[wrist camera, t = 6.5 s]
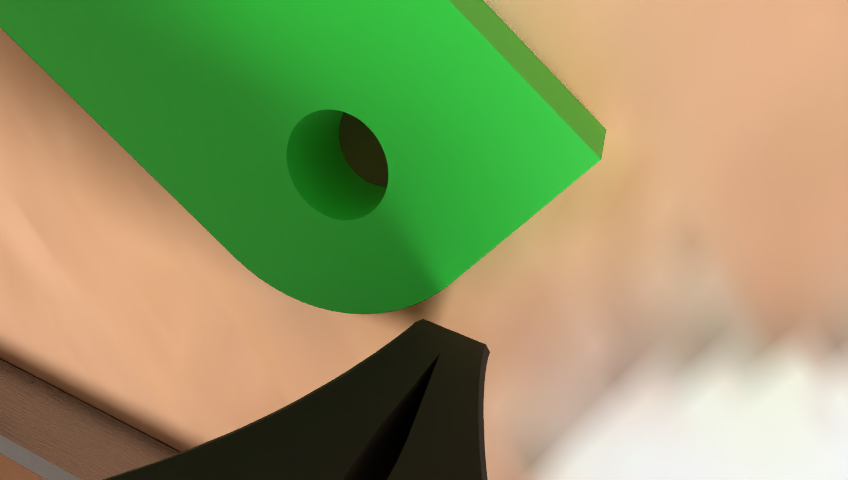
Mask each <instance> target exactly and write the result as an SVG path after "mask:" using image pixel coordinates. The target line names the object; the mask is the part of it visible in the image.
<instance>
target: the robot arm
mask: <svg viewBox="0 0 848 480" xmlns="http://www.w3.org/2000/svg"><path fill="white" fill-rule="evenodd" d="M489 353H490V351H489V350H488V348H487V346H486V344H483V343H481V342H478V341H476V340H473V339H471V338H468V337H466V336H463V335H461V334H459V333H456V332H454V331H451V330H449V329H446V328H444V327H441V326H439V325H437V324H434V323H432V322H429V321H427V320H424V319H422V320H419V321H417V322H415V323H414V324H413V325H412V326H410V327H409V328H408V329H407V330H405V331H404V332H403V333H402V334H400V335H399V336H398V337H396V338H395V339H394V340H392V341H391V342H390V343H388V344H387V345H385V346H384V347H383V348H381V349H380V350H378V351H377V352H376V353H374V354H373V355H371V356H370V357H368V358H367V359H365V360H364V361H362V362H360V363H359V364H357V365H356V366H354V367H353V368H351V369H350V370H348V371H347V372H345V373H344V374H342V375H340V376H339V377H337V378H335V379H334V380H332V381H330V382H328V383H327V384H325V385H323V386H321V387H320V388H318V389H316V390H314V391H313V392H311V393H309V394H307V395H306V396H304V397H302V398H300V399H299V400H297V401H295V402H293V403H291V404H289V405H287V406H285V407H283V408H281V409H279V410H278V411H276V412H274V413H271V414H269V415H267V416H265V417H263V418H261V419H259V420H257V421H255V422H253V423H250V424H248V425H246V426H244V427H242V428H240V429H237V430H235V431H233V432H230V433H228V434H226V435H223V436H221V437H218V438H216V439H213V440H211V441H209V442H206V443H204V444H201V445H199V446H197V447H194V448H192V449H189V450H187V451H184V452H181V453H179V454H176V455H173V456H171V457H168V458H165V459H163V460H160V461H157V462H154V463H151V464H148V465H145V466H142V467H139V468H136V469H133V470H130V471H127V472H124V473H121V474H118V475H115V476H112V477H109V478H105V479H102V480H487V471H486V460H485V445H484V419H483V400H484V381H485V372H486V365H487V360H488V356H489Z"/></svg>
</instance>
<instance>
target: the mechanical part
mask: <svg viewBox="0 0 848 480" xmlns="http://www.w3.org/2000/svg"><path fill="white" fill-rule="evenodd" d="M0 27H1V28H2V29H3V30H4V31H5V32H6V33H7V34H8V35H9V36H10V37H11V38H12V39H13V40H14V41H15V42H16V43H17V44H18V45H19V46H20V47H21V48H22V49H23V50H24V51H25V52H26V53H27V54H28V55H29V56H30V57H31V58H32V59H33V60H34V61H35V62H36V63H37V64H38V65H39V66H40V67H41V68H42V69H43V70H44V71H45V72H46V73H47V74H48V75H49V76H51V77H52V78H53V79H54V80H55V81H56V82H57V83H58V84H59V85H60V86H61V87H62V88H63V89H64V90H65V91H66V92H67V93H68V94H69V95H70V96H71V97H72V98H73V99H74V100H75V101H76V102H77V103H78V104H79V105H80V106H81V107H82V108H83V109H84V110H85V111H86V112H87V113H88V114H89V115H90V116H91V117H92V118H93V119H94V120H95V121H96V122H97V123H98V124H99V125H100V126H101V127H102V128H104V129H105V130H106V131H107V132H108V133H109V134H110V135H111V136H112V137H113V138H114V139H115V140H116V141H117V142H118V143H119V144H120V145H121V146H122V147H123V148H124V149H125V150H126V151H127V152H128V153H129V154H130V155H131V156H132V157H133V158H134V159H135V160H136V161H137V162H138V163H139V164H140V165H141V166H142V167H143V168H144V169H145V170H146V171H147V172H148V173H149V174H150V175H151V176H152V177H153V178H154V179H156V180H157V181H158V182H159V183H160V184H161V185H162V186H163V187H164V188H165V189H166V190H167V191H168V192H169V193H170V194H171V195H172V196H173V197H174V198H175V199H176V200H177V201H178V202H179V203H180V204H181V205H182V206H183V207H184V208H185V209H186V210H187V211H188V212H189V213H190V214H191V215H192V216H193V217H194V218H195V219H196V220H197V221H198V222H199V223H200V224H201V225H202V226H203V227H204V228H205V229H206V230H207V231H209V232H210V233H211V234H212V235H213V236H214V237H215V238H216V239H217V240H218V241H219V242H220V243H221V244H222V245H223V246H224V247H225V248H226V249H227V250H228V251H229V252H230V253H231V254H232V255H233V256H234V257H235V258H236V259H237V260H238V261H239V262H241V263H242V264H243V265H244V266H245V267H246V268H247V269H248V270H250V271H251V272H252V273H254V274H255V275H256V276H257V277H259V278H260V279H262V280H263V281H265V282H266V283H268V284H269V285H271V286H272V287H274V288H275V289H277V290H279V291H281V292H283V293H284V294H286V295H288V296H290V297H293V298H295V299H297V300H299V301H301V302H304V303H307V304H310V305H313V306H315V307H319V308H323V309H327V310H331V311H336V312H343V313H351V314H376V313H384V312H390V311H395V310H399V309H403V308H406V307H410V306H412V305H414V304H417V303H419V302H422V301H424V300H426V299H428V298H429V297H431V296H433V295H435V294H437V293H438V292H440V291H441V290H442V289H444V288H445V287H447V286H448V285H449V284H451V283H452V282H453V281H454V280H456V279H457V278H458V277H459V276H460V275H462V274H463V273H464V272H465V271H466V270H468V269H469V268H470V267H471V266H472V265H474V264H475V263H476V262H477V261H479V260H480V259H481V258H482V257H483V256H485V255H486V254H487V253H488V252H489V251H491V250H492V249H493V248H494V247H495V246H497V245H498V244H499V243H500V242H502V241H503V240H504V239H505V238H506V237H508V236H509V235H510V234H511V233H512V232H514V231H515V230H516V229H517V228H518V227H520V226H521V225H522V224H523V223H525V222H526V221H527V220H528V219H529V218H531V217H532V216H533V215H534V214H535V213H537V212H538V211H539V210H540V209H541V208H543V207H544V206H545V205H546V204H548V203H549V202H550V201H551V200H552V199H554V198H555V197H556V196H557V195H558V194H560V193H561V192H562V191H563V190H564V189H566V188H567V187H568V186H569V185H571V184H572V183H573V182H574V181H575V180H577V179H578V178H579V177H580V176H581V175H583V174H584V173H585V172H586V171H588V170H589V169H590V168H591V167H592V166H594V165H595V164H596V163H597V162H598V161H600V160H601V157H602V151H603V145H604V139H605V133H606V129H605V128H604V127H603V126H602V125H601V124H600V123H599V122H598V121H597V120H596V119H595V118H594V117H593V116H592V115H591V114H590V112H589V111H588V110H587V109H586V108H585V107H584V106H583V105H582V104H581V103H580V102H579V101H578V100H577V99H576V98H575V97H574V96H573V95H572V94H571V92H570V91H569V90H568V89H567V88H566V87H565V86H564V85H563V84H562V83H561V82H560V81H559V80H558V79H557V78H556V77H555V76H554V75H553V74H552V72H551V71H550V70H549V69H548V68H547V67H546V66H545V65H544V64H543V63H542V62H541V61H540V60H539V59H538V58H537V57H536V56H535V55H534V53H533V52H532V51H531V50H530V49H529V48H528V47H527V46H526V45H525V44H524V43H523V42H522V41H521V40H520V39H519V38H518V37H517V36H516V35H515V33H514V32H513V31H512V30H511V29H510V28H509V27H508V26H507V25H506V24H505V23H504V22H503V21H502V20H501V19H500V18H499V17H498V16H497V15H496V13H495V12H494V11H493V10H492V9H491V8H490V7H489V6H488V5H487V4H486V3H485V2H484V1H483V0H0ZM344 112H345V113H348V114H350V115H352V116H354V117H356V118H357V119H359V120H360V121H361V122H363V123H364V124H365V125H366V126H367V127H368V128H369V129H370V130H371V131H372V132H373V134H374V135H375V136H376V138H377V139H378V141H379V142H380V144H381V146H382V148H383V151H384V153H385V157H386V160H387V165H388V184H387V187H384V186H378V185H375V184H372V183H370V182H368V181H366V180H364V179H363V178H361V177H360V176H359V175H358V174H357V173H356V172H355V171H354V170H353V169H352V168H351V167H350V165H349V164H348V162H347V161H346V159H345V157H344V155H343V152H342V149H341V145H340V140H339V128H340V122H341V118H342V116H343V114H344Z"/></svg>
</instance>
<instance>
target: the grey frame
mask: <svg viewBox="0 0 848 480" xmlns="http://www.w3.org/2000/svg"><path fill="white" fill-rule="evenodd" d="M0 453H1V454H2V455H4V456H6V457H8V458H9V459H11V460H13V461H15V462H17V463H18V464H20V465H22V466H24V467H25V468H27V469H29V470H31V471H32V472H34V473H36V474H38V475H39V476H41V477H43V478H45V479H46V480H102V479H105V478H109V477H112V476H115V475H118V474H121V473H124V472H127V471H130V470H133V469H136V468H139V467H142V466H145V465H148V464H151V463H154V462H157V461H160V460H163V459H165V458H168V457H171V456H173V455H176V454H179V453H180V452H178V451H176V450H174V449H172V448H170V447H168V446H166V445H164V444H163V443H161V442H159V441H157V440H155V439H153V438H151V437H149V436H147V435H145V434H143V433H141V432H139V431H138V430H136V429H134V428H132V427H130V426H128V425H126V424H124V423H122V422H120V421H118V420H116V419H114V418H113V417H111V416H109V415H107V414H105V413H103V412H101V411H99V410H97V409H95V408H93V407H91V406H89V405H88V404H86V403H84V402H82V401H80V400H78V399H76V398H74V397H72V396H70V395H68V394H66V393H64V392H63V391H61V390H59V389H57V388H55V387H53V386H51V385H49V384H47V383H45V382H43V381H41V380H39V379H38V378H36V377H34V376H32V375H30V374H28V373H26V372H24V371H22V370H20V369H18V368H16V367H14V366H12V365H11V364H9V363H7V362H5V361H3V360H1V359H0Z"/></svg>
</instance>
